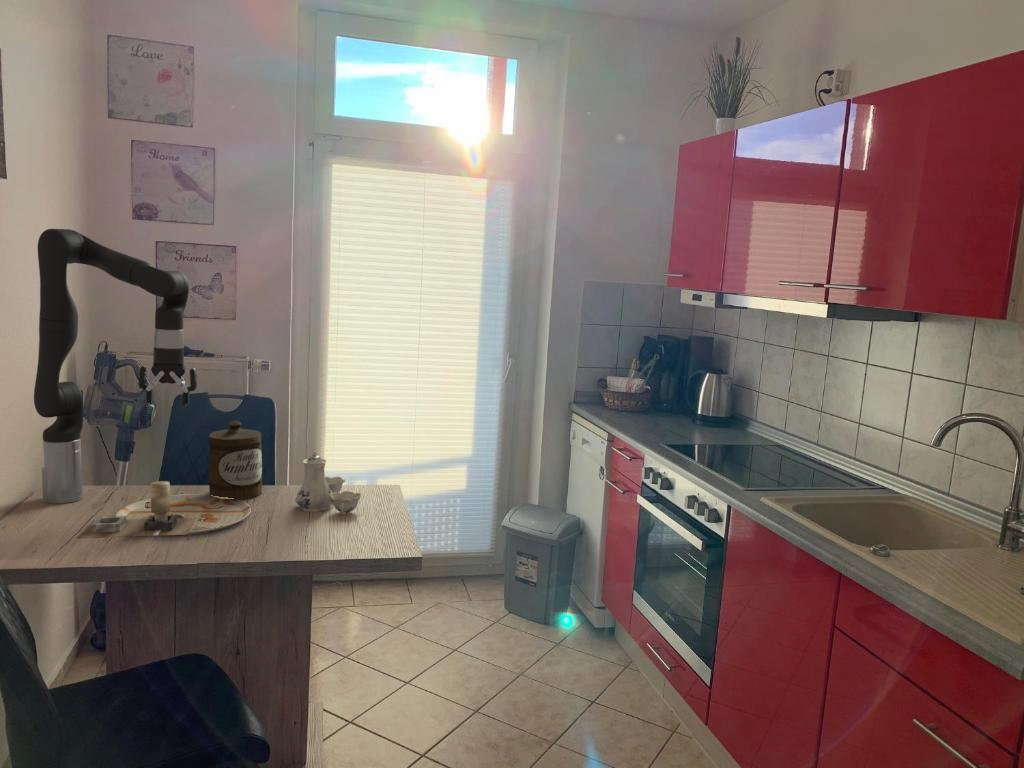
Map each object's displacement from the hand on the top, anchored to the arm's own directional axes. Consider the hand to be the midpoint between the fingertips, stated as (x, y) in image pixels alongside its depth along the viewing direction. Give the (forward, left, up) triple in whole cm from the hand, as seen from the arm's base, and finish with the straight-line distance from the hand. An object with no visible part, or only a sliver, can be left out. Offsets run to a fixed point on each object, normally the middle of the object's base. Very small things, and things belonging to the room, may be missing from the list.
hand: (167, 405), depth 221 cm
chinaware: (+42, -2, -29) cm, 51 cm away
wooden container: (+16, +14, -29) cm, 36 cm away
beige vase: (+2, -21, -27) cm, 34 cm away
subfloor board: (-3, -21, -29) cm, 36 cm away
